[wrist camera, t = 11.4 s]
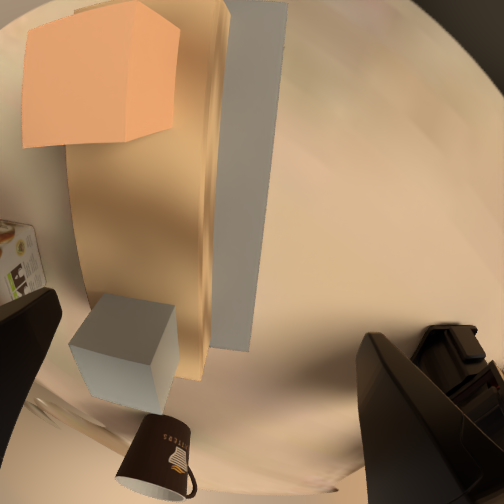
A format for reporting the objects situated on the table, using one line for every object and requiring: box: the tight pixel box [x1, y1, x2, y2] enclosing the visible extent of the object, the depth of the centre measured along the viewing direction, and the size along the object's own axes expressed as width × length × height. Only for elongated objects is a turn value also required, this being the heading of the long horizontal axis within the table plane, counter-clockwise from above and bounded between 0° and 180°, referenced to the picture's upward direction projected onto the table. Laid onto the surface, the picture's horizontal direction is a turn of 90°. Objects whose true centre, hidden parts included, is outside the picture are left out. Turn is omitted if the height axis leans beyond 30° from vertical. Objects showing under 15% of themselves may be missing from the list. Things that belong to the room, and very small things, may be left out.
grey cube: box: [69, 293, 180, 415], centre depth 14 cm, size 4×4×4 cm
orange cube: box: [22, 0, 180, 148], centre depth 8 cm, size 4×4×4 cm
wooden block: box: [65, 0, 231, 381], centre depth 14 cm, size 20×6×4 cm, turn 175°
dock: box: [209, 0, 288, 352], centre depth 17 cm, size 22×12×3 cm, turn 175°
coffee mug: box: [115, 414, 197, 502], centre depth 30 cm, size 12×9×10 cm
